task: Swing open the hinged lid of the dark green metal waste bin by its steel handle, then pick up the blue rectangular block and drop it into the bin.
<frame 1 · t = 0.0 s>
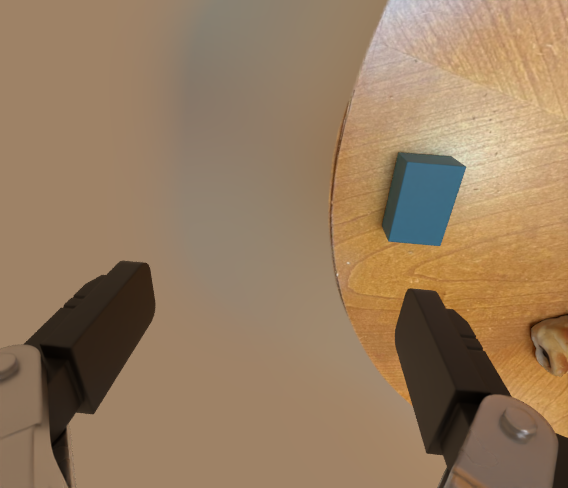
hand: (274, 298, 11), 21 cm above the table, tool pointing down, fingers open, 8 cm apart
blue rectangular block: (414, 193, 30), on the table
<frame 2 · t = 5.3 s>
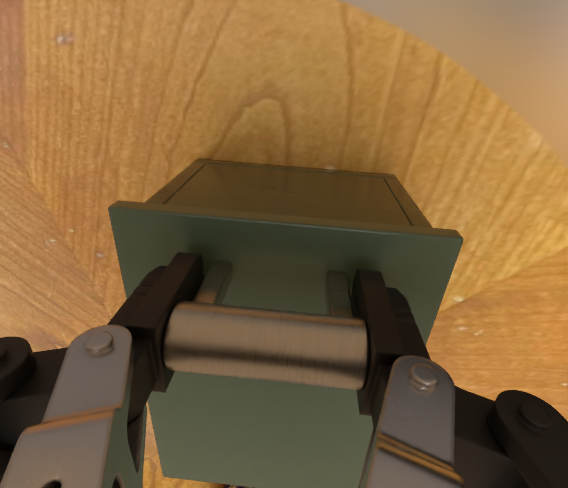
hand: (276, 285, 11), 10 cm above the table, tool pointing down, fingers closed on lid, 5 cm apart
lid: (266, 430, 13), point 11 cm above the table, hinge at -0.1°, touching gripper
bin: (286, 277, 23), on the table
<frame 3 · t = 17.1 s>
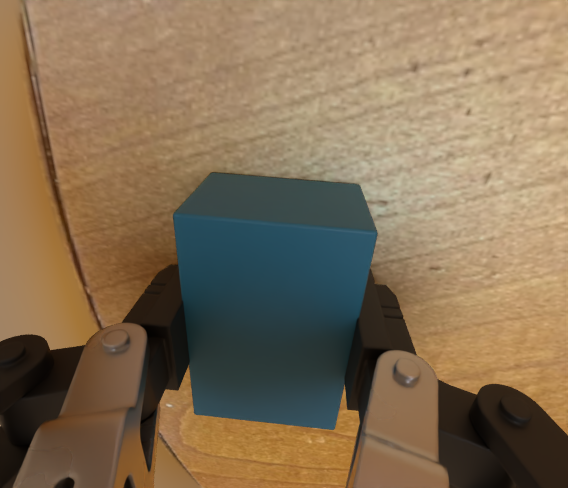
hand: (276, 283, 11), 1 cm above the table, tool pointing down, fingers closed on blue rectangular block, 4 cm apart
blue rectangular block: (278, 274, 12), on the table, touching gripper
when the fingers open (23 cm above the table, at t = 26.0 s): blue rectangular block drops 22 cm, resting on bin.
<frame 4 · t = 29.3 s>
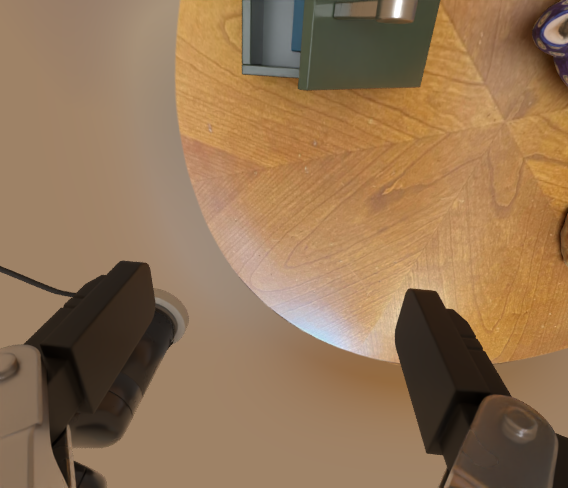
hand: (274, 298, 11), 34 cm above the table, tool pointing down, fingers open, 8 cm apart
blue rectangular block: (317, 13, 34), point 1 cm above the table, touching bin
bin: (331, 14, 35), on the table
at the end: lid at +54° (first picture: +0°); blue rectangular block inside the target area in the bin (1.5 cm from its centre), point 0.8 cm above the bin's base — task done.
